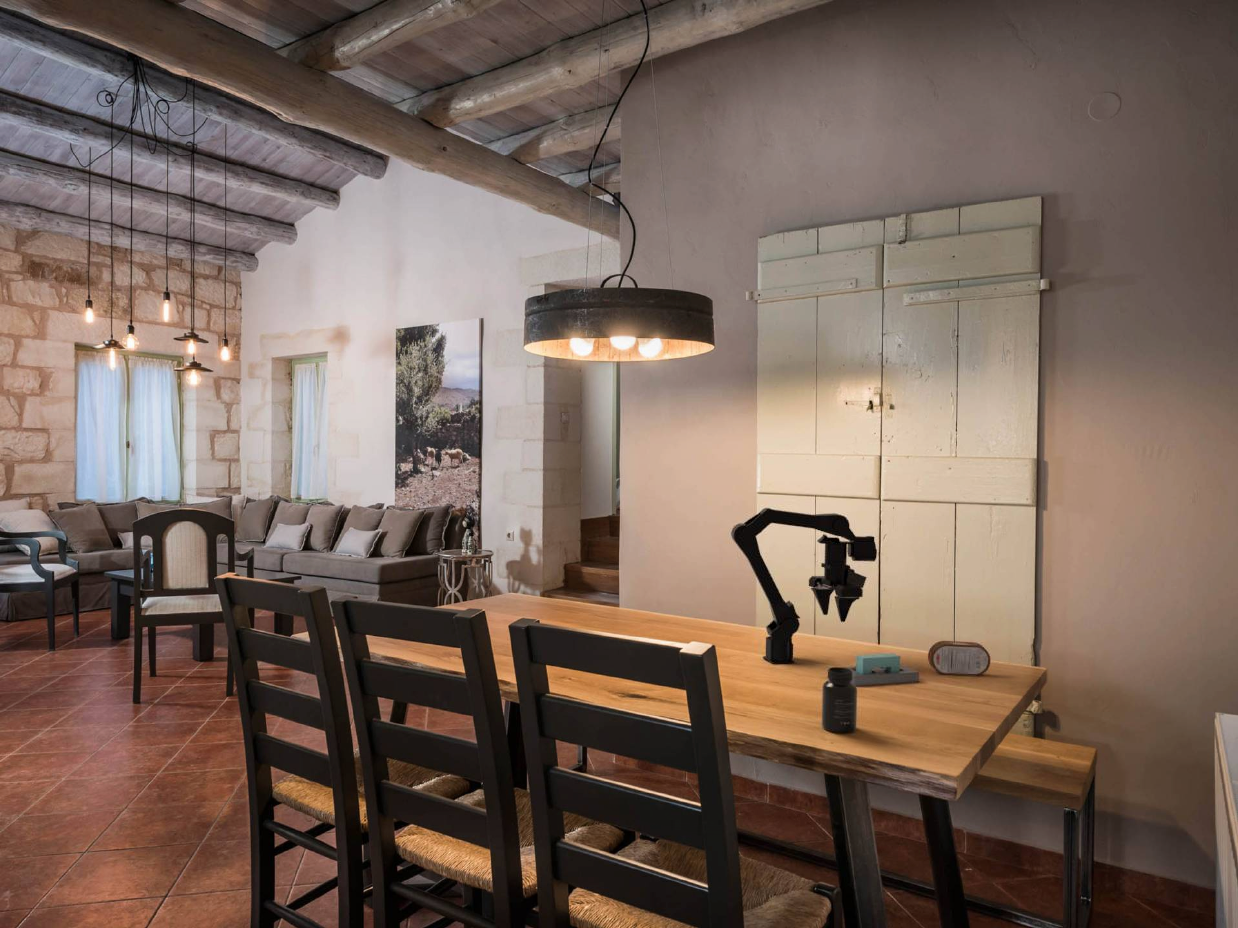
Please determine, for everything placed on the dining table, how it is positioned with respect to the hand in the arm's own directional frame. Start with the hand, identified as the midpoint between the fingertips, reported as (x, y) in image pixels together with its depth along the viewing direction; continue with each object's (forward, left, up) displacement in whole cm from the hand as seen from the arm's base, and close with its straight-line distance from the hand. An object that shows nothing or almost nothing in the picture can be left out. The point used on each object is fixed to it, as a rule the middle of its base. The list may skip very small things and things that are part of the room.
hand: (833, 618), depth 215 cm
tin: (+26, -18, -12) cm, 34 cm away
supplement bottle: (-27, -48, -12) cm, 56 cm away
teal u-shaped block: (+2, -18, -12) cm, 21 cm away
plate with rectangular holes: (+2, -18, -12) cm, 21 cm away
